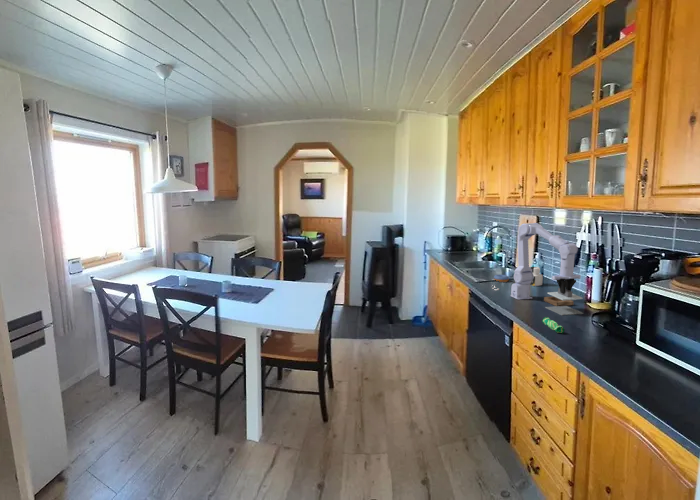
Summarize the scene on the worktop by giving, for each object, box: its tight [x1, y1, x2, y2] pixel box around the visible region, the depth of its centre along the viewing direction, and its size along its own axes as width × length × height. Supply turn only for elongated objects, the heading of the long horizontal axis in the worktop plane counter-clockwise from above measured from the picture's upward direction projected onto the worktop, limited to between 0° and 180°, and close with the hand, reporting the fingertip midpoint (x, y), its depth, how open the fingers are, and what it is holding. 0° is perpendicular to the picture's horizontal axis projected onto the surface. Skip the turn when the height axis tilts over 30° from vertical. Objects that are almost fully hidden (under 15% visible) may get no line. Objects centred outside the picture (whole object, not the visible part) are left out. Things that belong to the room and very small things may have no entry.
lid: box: [547, 287, 584, 301], centre depth 177 cm, size 11×11×4 cm
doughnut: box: [493, 274, 510, 283], centre depth 242 cm, size 10×10×5 cm
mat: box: [545, 305, 584, 316], centre depth 178 cm, size 12×12×1 cm
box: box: [543, 296, 575, 307], centre depth 190 cm, size 10×10×2 cm
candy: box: [541, 316, 566, 334], centre depth 155 cm, size 12×3×4 cm
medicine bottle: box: [529, 266, 544, 287], centre depth 229 cm, size 7×7×12 cm
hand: (565, 292), depth 176 cm, fingers closed on lid, 2 cm apart
